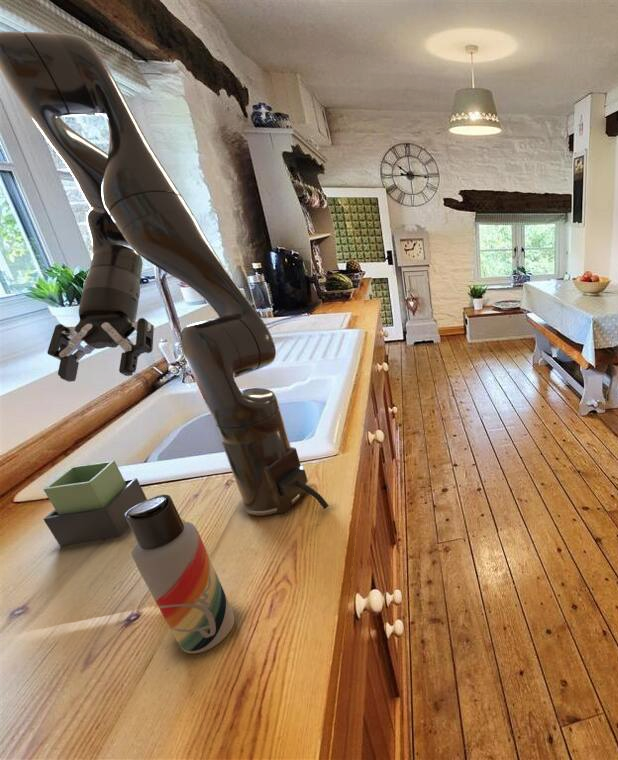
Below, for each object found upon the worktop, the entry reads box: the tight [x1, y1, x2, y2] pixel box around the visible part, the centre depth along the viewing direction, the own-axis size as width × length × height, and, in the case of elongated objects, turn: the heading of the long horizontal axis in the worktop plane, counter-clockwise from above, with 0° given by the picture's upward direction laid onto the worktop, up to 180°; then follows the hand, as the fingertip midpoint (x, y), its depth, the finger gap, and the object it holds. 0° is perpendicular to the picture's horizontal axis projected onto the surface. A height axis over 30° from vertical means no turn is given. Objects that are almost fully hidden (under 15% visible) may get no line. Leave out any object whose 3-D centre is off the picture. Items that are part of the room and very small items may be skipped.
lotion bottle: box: [125, 494, 235, 654], centre depth 47 cm, size 6×6×20 cm
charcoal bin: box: [43, 477, 148, 547], centre depth 68 cm, size 8×8×6 cm
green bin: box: [43, 460, 127, 515], centre depth 67 cm, size 6×6×10 cm
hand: (97, 377), depth 70 cm, fingers open, 8 cm apart
